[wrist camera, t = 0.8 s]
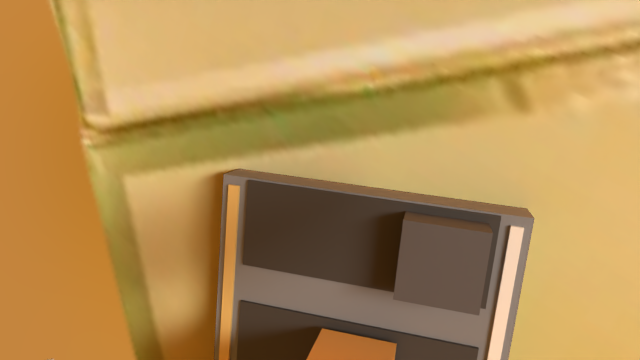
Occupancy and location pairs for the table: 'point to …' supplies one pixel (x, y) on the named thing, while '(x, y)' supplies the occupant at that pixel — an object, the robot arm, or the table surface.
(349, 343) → the orange lever
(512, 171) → the table surface
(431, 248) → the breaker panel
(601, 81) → the table surface
